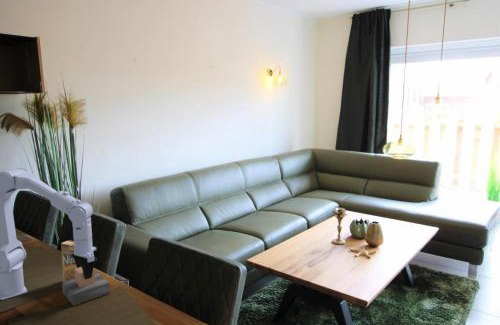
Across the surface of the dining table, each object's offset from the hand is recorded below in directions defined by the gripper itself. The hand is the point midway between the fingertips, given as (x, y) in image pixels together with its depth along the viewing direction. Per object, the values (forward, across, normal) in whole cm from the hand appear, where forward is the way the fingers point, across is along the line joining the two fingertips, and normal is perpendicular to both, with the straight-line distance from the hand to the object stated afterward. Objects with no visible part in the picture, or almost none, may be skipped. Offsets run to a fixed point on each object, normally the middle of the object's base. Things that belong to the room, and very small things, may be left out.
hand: (85, 275), depth 126 cm
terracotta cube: (+3, 0, 0) cm, 3 cm away
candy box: (+7, +11, 0) cm, 13 cm away
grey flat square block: (+7, 0, 0) cm, 7 cm away
